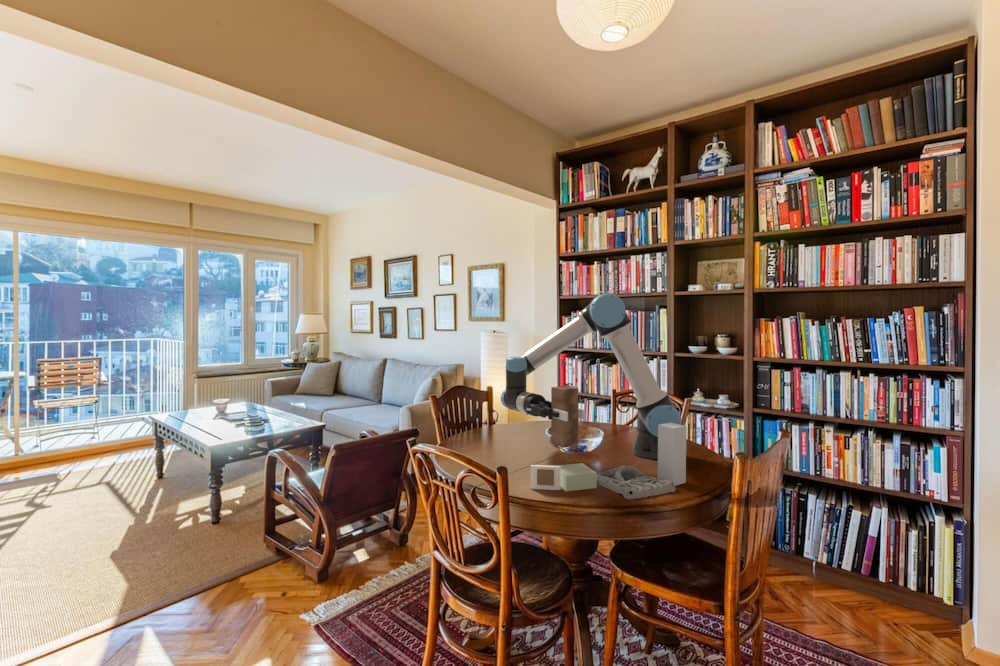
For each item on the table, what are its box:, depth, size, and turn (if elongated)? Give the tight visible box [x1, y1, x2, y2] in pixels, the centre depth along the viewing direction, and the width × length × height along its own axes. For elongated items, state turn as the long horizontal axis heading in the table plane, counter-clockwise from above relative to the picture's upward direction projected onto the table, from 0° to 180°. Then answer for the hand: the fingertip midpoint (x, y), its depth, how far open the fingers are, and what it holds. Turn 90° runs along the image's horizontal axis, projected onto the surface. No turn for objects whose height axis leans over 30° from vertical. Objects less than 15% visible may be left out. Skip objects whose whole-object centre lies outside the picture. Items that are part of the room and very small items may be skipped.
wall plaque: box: [594, 464, 677, 500], centre depth 152 cm, size 24×19×4 cm
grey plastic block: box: [657, 422, 687, 487], centre depth 153 cm, size 6×6×18 cm
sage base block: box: [555, 462, 598, 492], centre depth 151 cm, size 10×10×5 cm
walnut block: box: [550, 385, 579, 448], centre depth 154 cm, size 6×6×18 cm
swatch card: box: [530, 464, 561, 491], centre depth 147 cm, size 2×9×7 cm, turn 83°
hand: (575, 415), depth 149 cm, fingers closed on walnut block, 6 cm apart
